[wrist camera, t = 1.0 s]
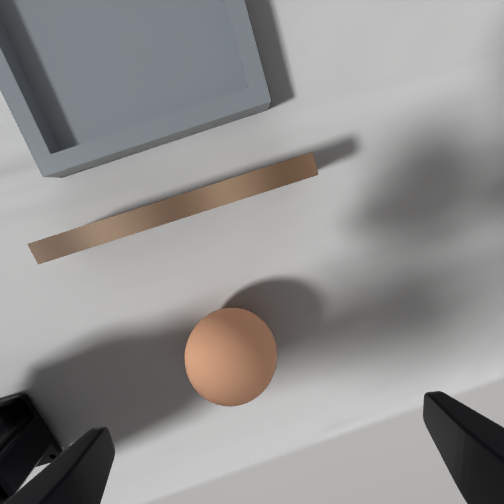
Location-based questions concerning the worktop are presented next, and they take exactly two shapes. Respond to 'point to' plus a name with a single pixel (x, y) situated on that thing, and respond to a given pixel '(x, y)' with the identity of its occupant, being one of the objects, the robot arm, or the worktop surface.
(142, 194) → the worktop surface
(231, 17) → the dish
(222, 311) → the ball
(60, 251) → the fence
